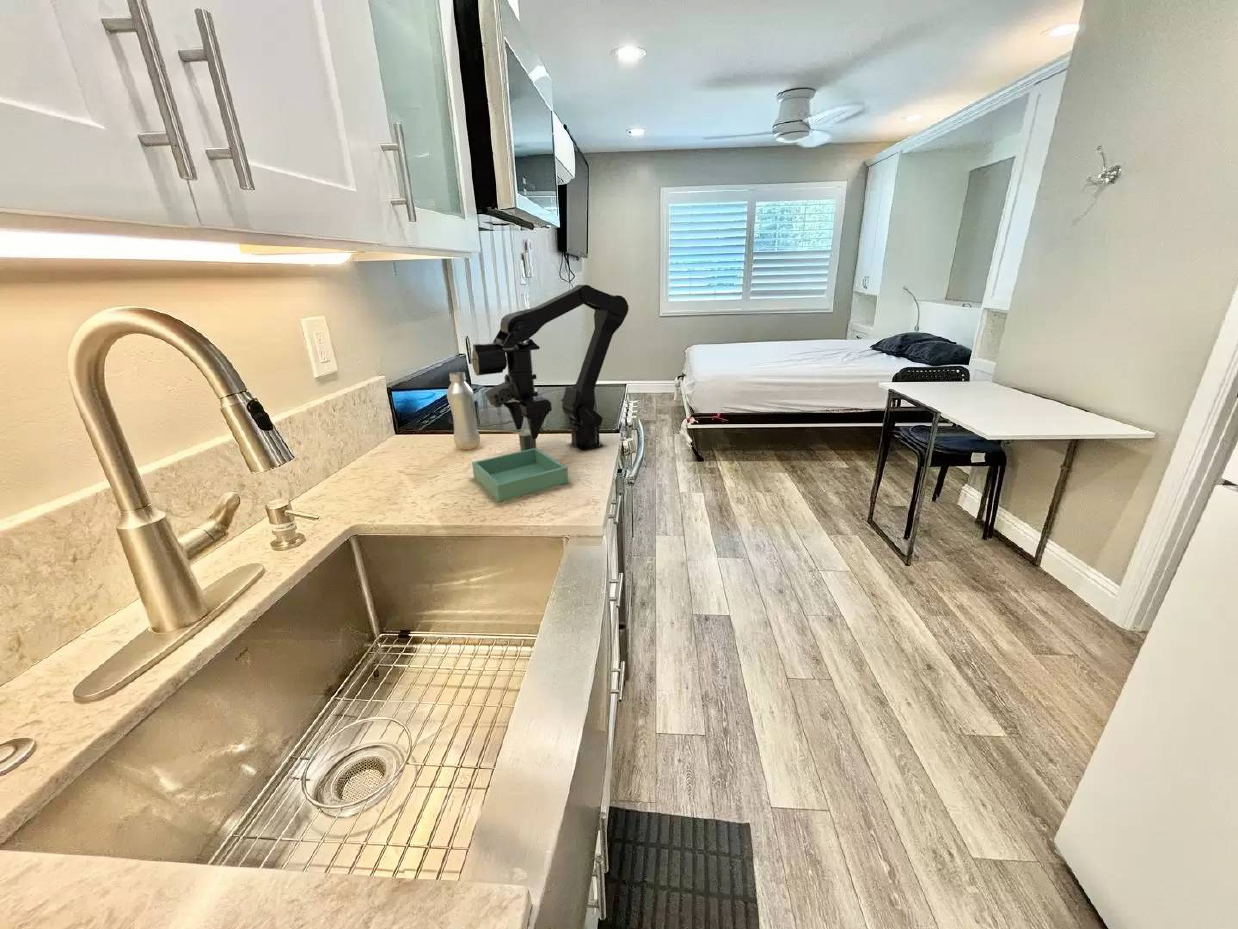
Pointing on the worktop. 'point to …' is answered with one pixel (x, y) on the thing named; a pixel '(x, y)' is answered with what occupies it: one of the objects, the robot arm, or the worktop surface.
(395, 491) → the worktop surface
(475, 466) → the bin
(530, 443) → the salt shaker
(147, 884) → the worktop surface
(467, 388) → the silver bottle
